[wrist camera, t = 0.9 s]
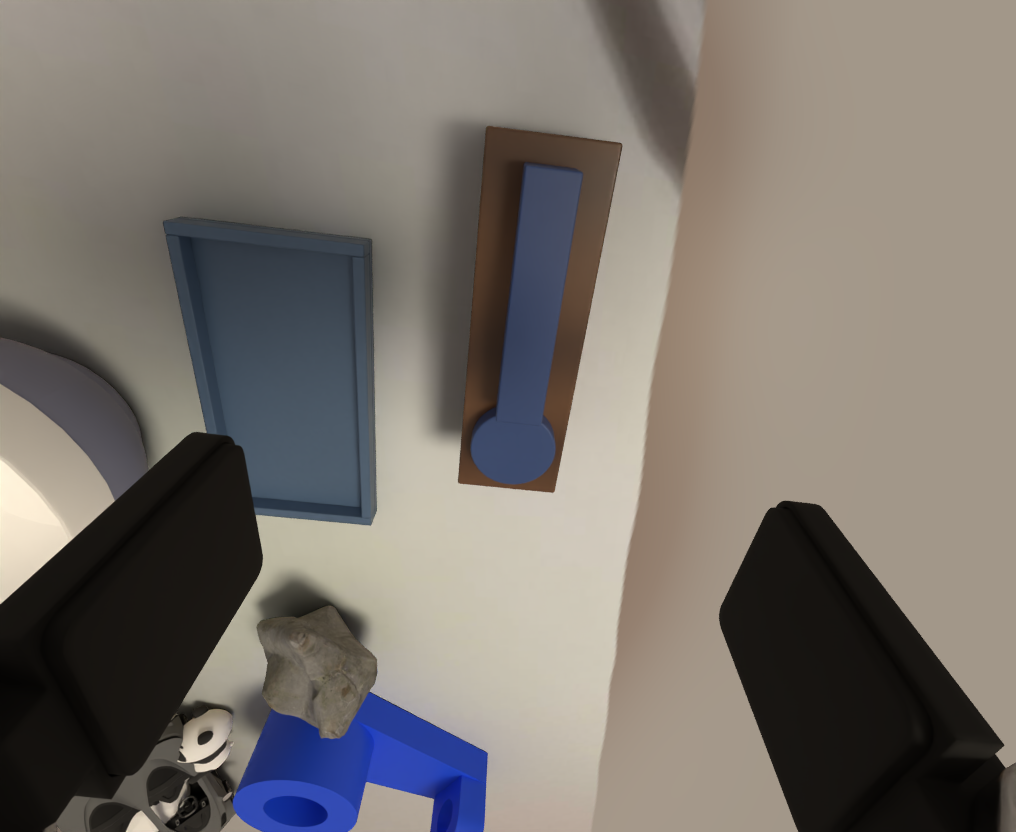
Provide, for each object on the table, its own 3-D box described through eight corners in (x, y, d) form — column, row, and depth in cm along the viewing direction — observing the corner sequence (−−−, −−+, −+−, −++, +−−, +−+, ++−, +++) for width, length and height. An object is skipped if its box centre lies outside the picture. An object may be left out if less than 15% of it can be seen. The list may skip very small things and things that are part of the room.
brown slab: (491, 127, 22) (486, 125, 18) (602, 141, 23) (623, 143, 18) (466, 433, 30) (457, 483, 26) (548, 442, 30) (554, 493, 26)
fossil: (247, 574, 36) (183, 680, 29) (370, 564, 35) (335, 669, 29) (298, 671, 41) (254, 780, 34) (405, 663, 41) (383, 772, 34)
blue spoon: (497, 158, 19) (495, 160, 17) (604, 172, 19) (613, 175, 17) (468, 468, 25) (465, 493, 24) (547, 476, 26) (550, 501, 24)
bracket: (260, 716, 45) (215, 818, 38) (301, 663, 41) (259, 766, 34) (448, 784, 50) (438, 884, 43) (500, 742, 46) (498, 845, 40)
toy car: (253, 751, 56) (281, 822, 50) (118, 842, 49) (132, 937, 43) (203, 645, 47) (229, 715, 41) (30, 737, 40) (32, 837, 34)
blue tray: (180, 216, 24) (161, 221, 23) (372, 238, 25) (363, 244, 23) (234, 496, 33) (222, 512, 31) (376, 510, 33) (371, 525, 32)
